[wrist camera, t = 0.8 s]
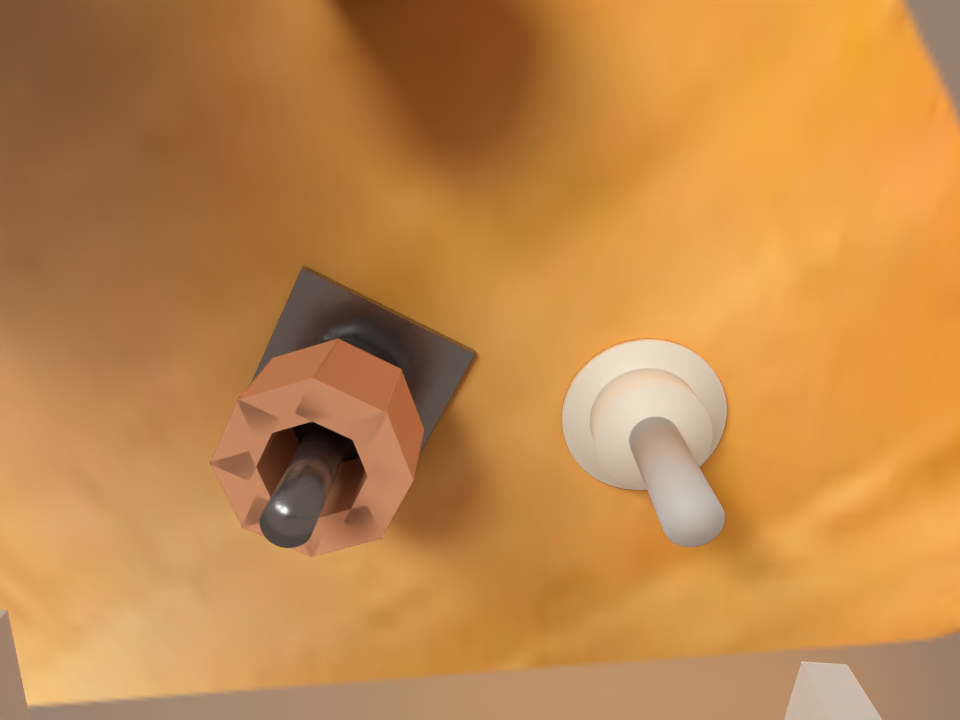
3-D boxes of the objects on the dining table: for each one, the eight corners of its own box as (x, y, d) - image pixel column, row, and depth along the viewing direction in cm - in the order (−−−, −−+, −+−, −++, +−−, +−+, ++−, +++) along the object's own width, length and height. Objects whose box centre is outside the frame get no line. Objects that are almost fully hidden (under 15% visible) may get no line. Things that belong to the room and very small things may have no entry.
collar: (230, 451, 35) (190, 505, 31) (291, 315, 33) (258, 351, 28) (376, 516, 36) (359, 578, 32) (446, 390, 34) (438, 436, 29)
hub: (532, 444, 40) (546, 557, 30) (615, 309, 37) (660, 386, 27) (666, 509, 41) (721, 637, 31) (756, 383, 38) (848, 481, 29)
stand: (236, 420, 40) (116, 570, 27) (304, 266, 36) (205, 354, 24) (396, 493, 41) (354, 668, 28) (475, 350, 38) (467, 476, 25)
